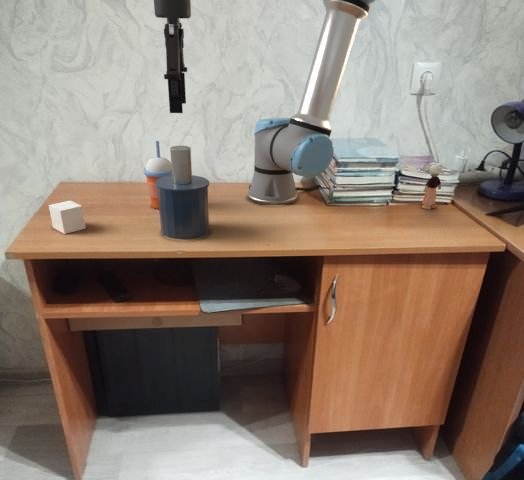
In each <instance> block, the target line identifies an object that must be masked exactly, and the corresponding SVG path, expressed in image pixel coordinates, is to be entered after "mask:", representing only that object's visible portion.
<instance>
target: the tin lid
mask: <svg viewBox="0 0 524 480" xmlns="http://www.w3.org/2000/svg"><path fill="white" fill-rule="evenodd" d="M169 150H170V162H171V167H172V176H166V177H162V178H159V179H158V180H156V182H155V185H156V187H157V188H159V189H161V190H165V191H171V192H192V191H198V190H202V189H205V188H207V187H208V188H209V186H210V181H209V179H208V178H205V177H203V176H200V175H193V171H192V148H191V146H188V145H172V146H170V147H169Z"/></svg>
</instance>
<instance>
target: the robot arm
mask: <svg viewBox="0 0 524 480" xmlns="http://www.w3.org/2000/svg"><path fill="white" fill-rule="evenodd" d="M377 1H378V0H322V4H323V6H324V9H325V11H326V12H325V14H324V15H325V16H324V19H323V23H322V27H321V30H320V33H319V37H318V40H317V44H316V47H315V51H314V54H313V58H312V61H311V65H310V67H309V68H310V69H309V72H308V76H307V79H306V83H305V87H304V89H303V93H302V96H301V99H300V100H301V101H300V104H299V107H298V112H296V113H295V114H294V115H292V116H290V117H271V118H261V119H259V120H257V121H256V122H255V126H254V134H253V135H254V161H253V162H254V163H253V164H254V167H253V168H254V169H253V171H254V172H253V176H252V179H251V182H250V184H249V186H248V190H247V191H248V192H247V199H248V200H249V201H250V202H253V203H255V204H258V205H262V206H270V205H271V206H287V205H291V204H294V203H295V202H297V200H298V191H301V192H302V191H303V192H305V191H311V190H312V189H315V188H322V187H321V186H320V185H318V183H316V184H311V185H309V186H308V187H301V186H300V187H298V186H297V187H296V182H295V178H294V175H296V176H298V177H304V178H309V179H311V178H315V177H318V176H319V175H321V174H322V173H324V172H325V171H326V170H327V169H328V167H329V166H330V165H331V162H332V160H333V157H334V152H335V151H334V148H335V147H334V146H333V145H334V143H333V141H332V139H331V138H330V137H331V135H332V131H333V129H332V127H331V124H330V118H331V115H332V111H333V108H334V106H335V102H336V99H337V95H338V92H339V89H340V85H341V83H342V78H343V76H344V73H345V70H346V66H347V63H348V59H349V56H350V52H351V49H352V46H353V43H354V40H355V37H356V33H357V30H358V27H359V24H360V22H361V21H362V20H364V19H366V18H367V17H368V14H369V11H370V8H371V4H374V3H375V2H377ZM191 2H192V1H191V0H153V7H154V8H153V9H154V16H155V17H156V18H159V19H166V23H164V28H163V35H164V45H165V55H166V56H165V57H166V58H165V59H166V60H165V61H166V71H165V73H164V74H163V79H164V80H167V89H168V103H169V114H183V113H184V111H183V105H184V104H185V105H186V104H187V99H186V98H187V97H186V95H187V94H186V77H185V73H187V72H188V67H187V66H186V65H185V60H184V59H185V57H184V48H185V47H184V46H185V41H184V38H185V29H184V28H182V27H183V24H182V22H180V19H190V18H191V17H192V5H191Z"/></svg>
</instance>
